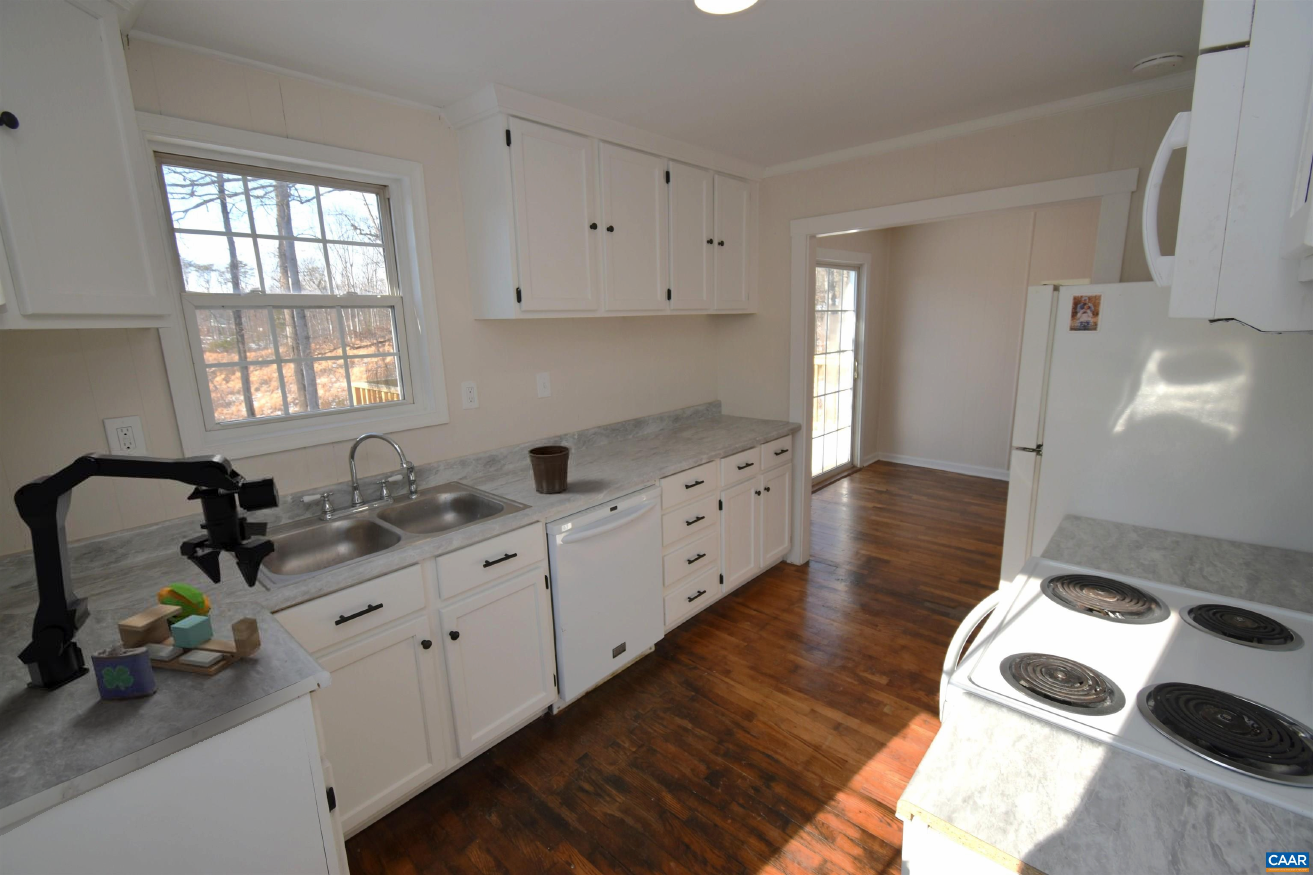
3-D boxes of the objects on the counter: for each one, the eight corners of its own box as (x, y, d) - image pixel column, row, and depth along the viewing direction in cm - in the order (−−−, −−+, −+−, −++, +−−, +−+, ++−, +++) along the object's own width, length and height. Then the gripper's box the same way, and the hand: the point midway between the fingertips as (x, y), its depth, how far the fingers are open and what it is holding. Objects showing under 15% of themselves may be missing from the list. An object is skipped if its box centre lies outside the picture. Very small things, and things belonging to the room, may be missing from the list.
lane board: (212, 675, 111) (204, 635, 109) (126, 661, 116) (117, 623, 114) (250, 651, 119) (242, 614, 117) (167, 640, 124) (159, 604, 122)
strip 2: (248, 658, 114) (242, 626, 113) (173, 647, 119) (166, 616, 117) (261, 649, 117) (256, 618, 115) (187, 639, 121) (181, 609, 120)
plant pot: (568, 495, 217) (566, 454, 213) (526, 496, 217) (523, 455, 214) (575, 483, 233) (573, 444, 229) (536, 484, 233) (533, 445, 230)
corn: (178, 601, 125) (137, 582, 134) (182, 633, 126) (141, 613, 136) (217, 589, 131) (175, 572, 141) (220, 620, 133) (179, 601, 142)
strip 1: (207, 666, 112) (206, 662, 111) (133, 655, 116) (132, 651, 116) (222, 657, 114) (221, 653, 114) (149, 647, 119) (148, 643, 119)
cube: (192, 648, 116) (187, 628, 115) (174, 645, 117) (170, 626, 116) (213, 636, 120) (209, 616, 120) (196, 634, 121) (192, 614, 121)
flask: (161, 688, 107) (148, 637, 105) (149, 698, 104) (136, 646, 102) (108, 692, 107) (94, 640, 104) (94, 702, 104) (80, 649, 101)
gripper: (290, 505, 125) (301, 571, 128) (222, 501, 129) (234, 565, 132) (244, 523, 114) (257, 595, 117) (171, 518, 118) (186, 587, 122)
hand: (234, 584), depth 122 cm, fingers open, 9 cm apart
